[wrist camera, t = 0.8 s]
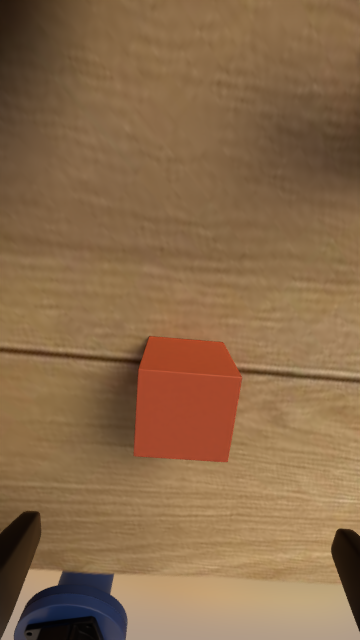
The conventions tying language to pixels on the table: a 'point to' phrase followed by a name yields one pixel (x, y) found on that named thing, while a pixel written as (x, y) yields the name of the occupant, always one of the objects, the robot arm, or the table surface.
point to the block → (186, 400)
